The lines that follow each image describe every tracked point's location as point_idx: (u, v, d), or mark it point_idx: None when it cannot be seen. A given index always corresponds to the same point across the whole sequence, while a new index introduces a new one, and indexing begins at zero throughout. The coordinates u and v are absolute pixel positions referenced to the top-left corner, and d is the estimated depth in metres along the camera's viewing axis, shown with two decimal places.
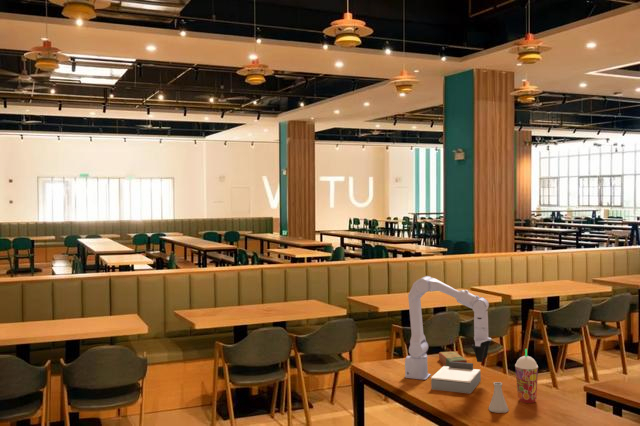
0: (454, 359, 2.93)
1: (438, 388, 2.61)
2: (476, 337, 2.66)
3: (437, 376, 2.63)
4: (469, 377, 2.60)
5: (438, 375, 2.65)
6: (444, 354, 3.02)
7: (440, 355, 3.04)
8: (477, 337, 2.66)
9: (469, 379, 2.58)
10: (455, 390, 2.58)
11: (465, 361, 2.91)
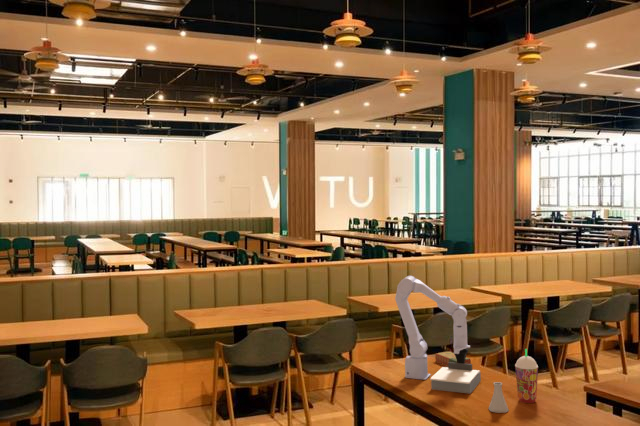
0: None
1: (438, 388, 2.61)
2: (455, 345, 2.72)
3: (436, 377, 2.62)
4: (468, 378, 2.58)
5: (437, 376, 2.63)
6: (443, 355, 3.00)
7: (438, 356, 3.02)
8: (456, 345, 2.72)
9: (468, 380, 2.56)
10: (455, 390, 2.58)
11: (469, 360, 2.93)
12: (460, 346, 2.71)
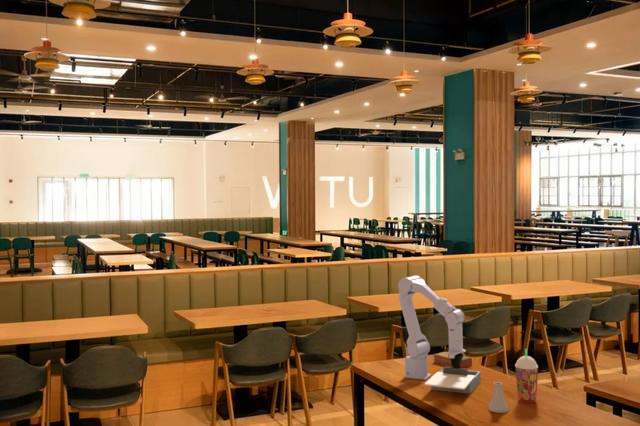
0: None
1: (438, 388, 2.61)
2: (450, 349, 2.65)
3: (430, 382, 2.55)
4: (463, 384, 2.52)
5: (432, 381, 2.57)
6: (443, 355, 3.00)
7: (437, 357, 3.01)
8: (451, 349, 2.65)
9: (463, 385, 2.50)
10: (455, 390, 2.58)
11: (470, 359, 2.95)
12: (455, 350, 2.64)
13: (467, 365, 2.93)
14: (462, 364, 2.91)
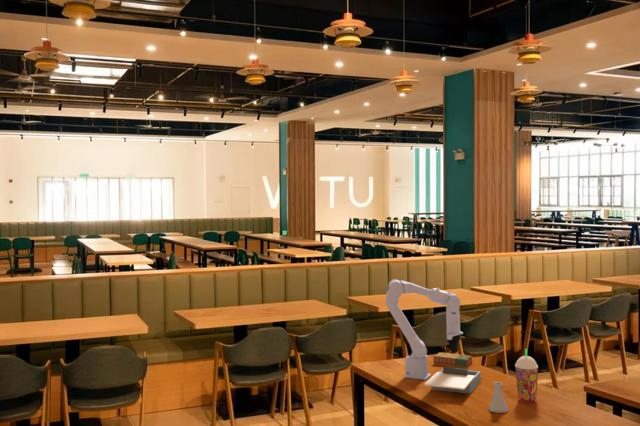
0: (464, 357, 2.95)
1: (438, 388, 2.61)
2: (448, 331, 2.77)
3: (430, 382, 2.55)
4: (463, 384, 2.51)
5: (431, 381, 2.56)
6: (444, 356, 2.98)
7: (438, 358, 2.98)
8: (449, 331, 2.77)
9: (463, 386, 2.49)
10: (455, 390, 2.58)
11: (471, 357, 2.98)
12: (453, 332, 2.76)
13: (470, 363, 2.96)
14: (467, 363, 2.93)
